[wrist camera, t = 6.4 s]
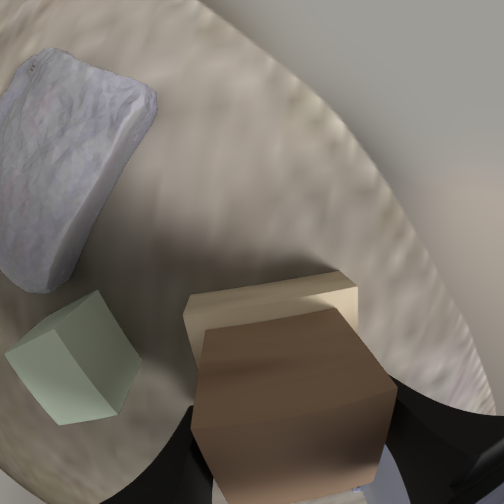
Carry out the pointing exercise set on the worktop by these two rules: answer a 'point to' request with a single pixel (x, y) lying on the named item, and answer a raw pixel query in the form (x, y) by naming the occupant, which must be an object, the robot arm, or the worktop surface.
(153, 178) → the worktop surface
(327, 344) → the walnut cube
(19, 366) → the sage cube
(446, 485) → the robot arm
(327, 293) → the oak block
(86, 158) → the stone block
